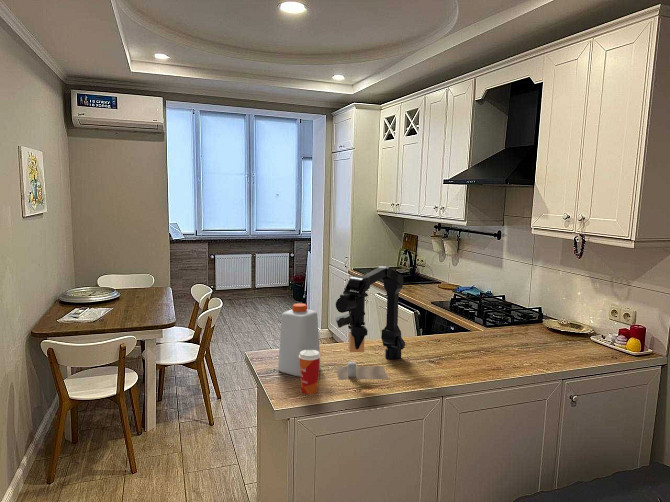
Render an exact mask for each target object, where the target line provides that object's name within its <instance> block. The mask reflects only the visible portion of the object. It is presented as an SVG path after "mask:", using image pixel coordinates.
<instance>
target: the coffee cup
mask: <svg viewBox="0 0 670 502" xmlns="http://www.w3.org/2000/svg"><path fill="white" fill-rule="evenodd" d="M299 358H300V376H301V377H300V390H301V393H302V394H304V395H308V396H309V395H314V394H317V393H318V390H319V389H318V388H319V373H320V368H319V361H320V362H321V354H320V353H319V351H317V350H303V351H301V352H300V355H299Z"/></svg>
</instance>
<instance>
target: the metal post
mask: <svg viewBox="0 0 670 502" xmlns="http://www.w3.org/2000/svg"><path fill="white" fill-rule="evenodd" d="M347 366H348V378H356V366H357V363H356V361H347Z"/></svg>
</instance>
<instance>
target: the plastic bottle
mask: <svg viewBox="0 0 670 502" xmlns="http://www.w3.org/2000/svg"><path fill="white" fill-rule="evenodd" d="M291 307H292V308H291V309H288V310H286V311H283V312H282V314H281V320H280V321H281V322H280V324H281V325H280V334H279V335H280V337H279V351H278V363H277V365H278V370H279V372H281V373H283V374H286V375H287V374H288V375H291V376H294V377H297V378H298V377H300V378H301V376H300V358H299V355H300V352H301V351H303V350H317V351H319V353H320V337H319V336H320V335H319V322H318V318H319V317H318V312H317V311H316V310H312V309H308V305H307V304H306V303H299V302H298V303H294V304H292V306H291ZM319 369H321V360H320V361H319Z"/></svg>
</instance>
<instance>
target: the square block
mask: <svg viewBox="0 0 670 502" xmlns="http://www.w3.org/2000/svg"><path fill="white" fill-rule="evenodd" d="M350 332H351V331H348V350H349V352H350V353H364V352H365V338H364V339H363V341H362V343H361V345H360V347H359V349H356V348H355V341H354V337H353V336H352V335H351V333H350Z"/></svg>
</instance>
